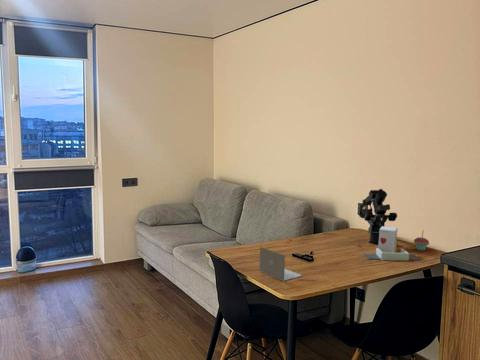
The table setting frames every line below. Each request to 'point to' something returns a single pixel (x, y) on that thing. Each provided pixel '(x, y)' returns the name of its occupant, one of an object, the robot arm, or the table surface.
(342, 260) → the table surface
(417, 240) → the cupcake
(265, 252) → the laptop
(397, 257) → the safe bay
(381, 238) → the supplement box
